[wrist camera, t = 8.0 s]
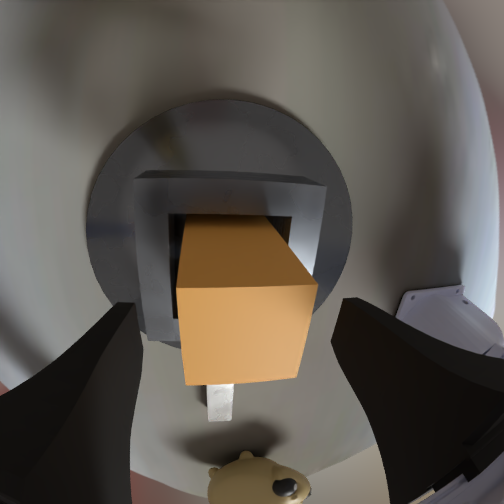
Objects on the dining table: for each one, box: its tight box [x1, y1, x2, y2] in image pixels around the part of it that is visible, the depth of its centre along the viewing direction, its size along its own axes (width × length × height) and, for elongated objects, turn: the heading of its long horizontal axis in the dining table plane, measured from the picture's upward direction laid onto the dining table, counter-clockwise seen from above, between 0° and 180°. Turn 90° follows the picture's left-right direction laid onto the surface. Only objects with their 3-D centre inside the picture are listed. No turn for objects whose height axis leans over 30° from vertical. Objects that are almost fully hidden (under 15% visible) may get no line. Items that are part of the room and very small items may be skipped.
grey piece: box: [86, 100, 352, 422], centre depth 16 cm, size 16×24×4 cm, turn 175°
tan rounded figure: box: [208, 451, 312, 504], centre depth 23 cm, size 10×12×11 cm
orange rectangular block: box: [176, 214, 318, 385], centre depth 12 cm, size 4×4×8 cm
